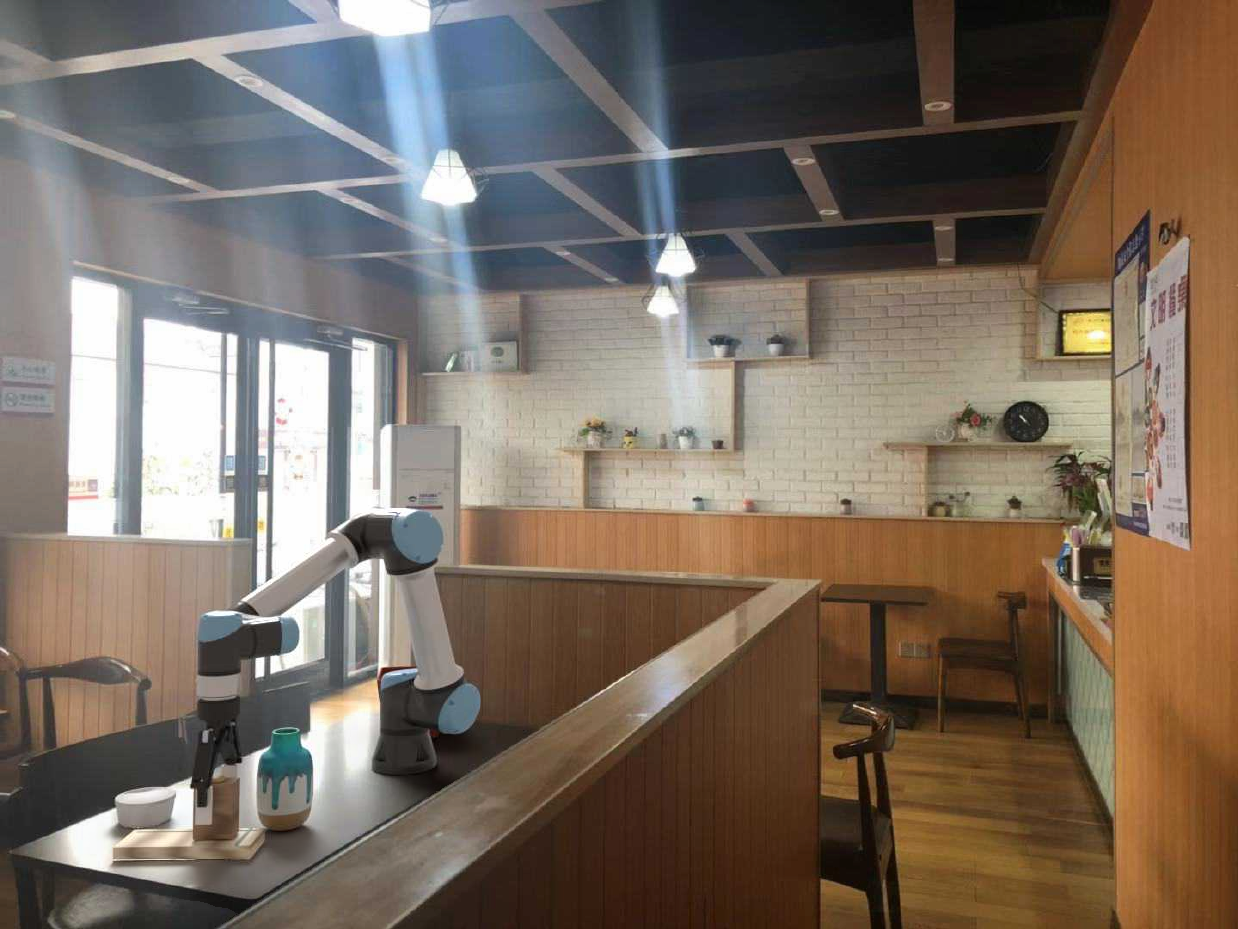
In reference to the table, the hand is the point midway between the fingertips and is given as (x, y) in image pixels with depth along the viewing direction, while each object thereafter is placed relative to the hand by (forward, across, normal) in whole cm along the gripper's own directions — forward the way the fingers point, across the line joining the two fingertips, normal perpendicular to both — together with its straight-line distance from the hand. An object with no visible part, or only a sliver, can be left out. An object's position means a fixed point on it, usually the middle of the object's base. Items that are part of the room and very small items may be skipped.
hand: (216, 811), depth 180 cm
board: (+7, 0, -4) cm, 8 cm away
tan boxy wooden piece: (+4, -2, 0) cm, 5 cm away
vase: (+7, -11, +9) cm, 16 cm away
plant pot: (+8, -84, +24) cm, 88 cm away
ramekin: (+8, -17, -20) cm, 27 cm away
